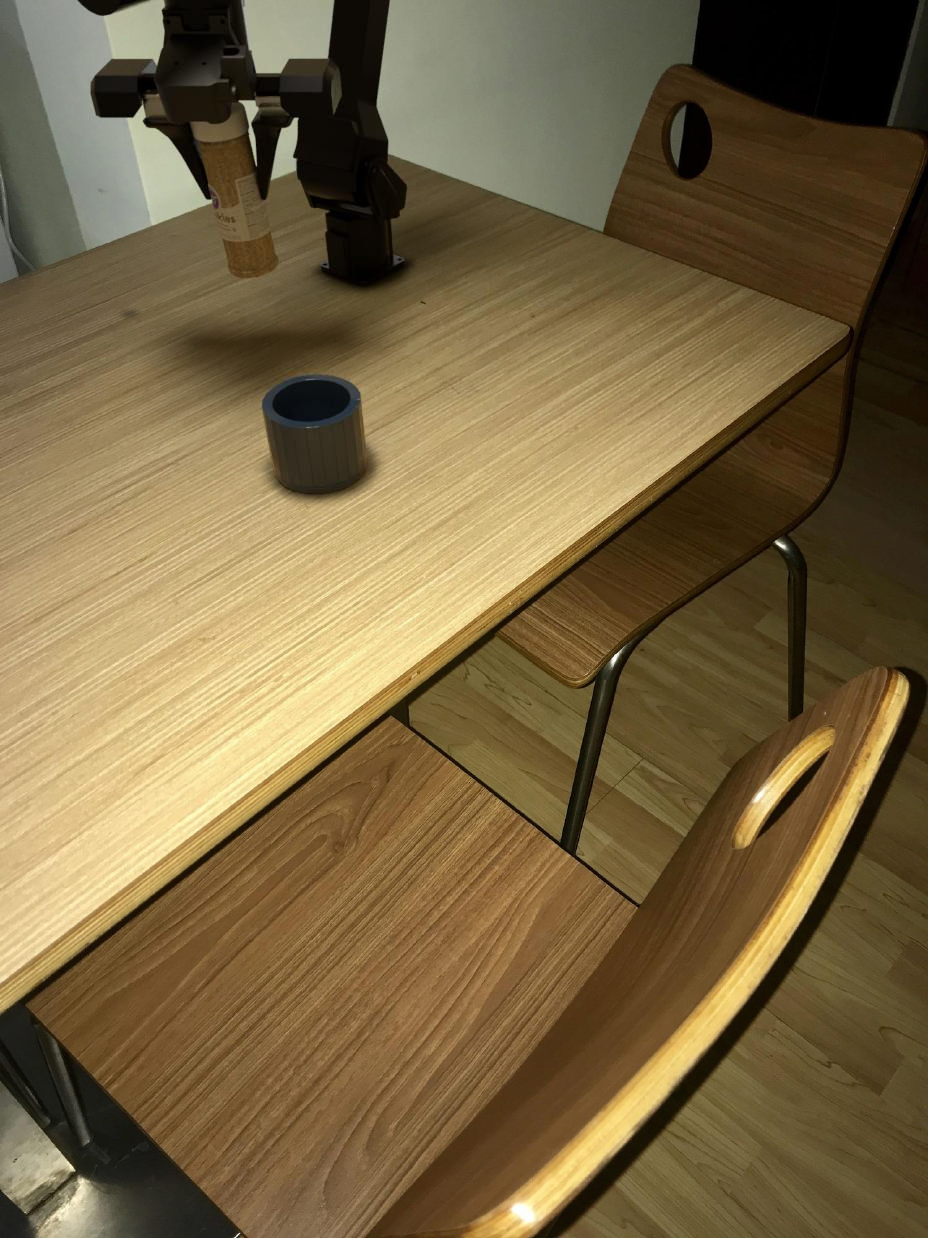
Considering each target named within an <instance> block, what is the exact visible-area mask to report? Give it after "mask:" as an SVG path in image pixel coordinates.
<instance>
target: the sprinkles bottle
mask: <svg viewBox="0 0 928 1238" xmlns="http://www.w3.org/2000/svg"><path fill="white" fill-rule="evenodd" d="M190 125H191V129H192V133H193V136H194V138H195V139H196V142H197V143H198V145H199V149H200V153H201V157H202V160H203V165H204V168H205V172H206V176H207V180H208V187H209V191H210V195H211V202H212V206H213V210H214V214H215V219H216V222H217V227H218V231H219V235H220V237H221V239H222V243H223V248H224V252H225V255H226V259H227V269H228V271H229V273H230V274H231V275H232V276H234V277H236V278H239V279H254V278H259V277H262V276H265V275H267V274H269V273H271V272H273V271H274V270H276V268H277V267H278V266H279V263H280V261H279V257H278V256H277V254H276V250H275V245H274V239H273V236H272V232H271V222H270V218H269V214H268V209H267V205H266V200H261V196H260V191H259V186H258V176H257V162H256V159H255V155H254V150H253V146H252V142H251V138H250V132H249V130H250V122H249V117H248V114H247V110H246V107H245V105H244V104H243V103H242V102H241V101H239V102H238V103H232V106H231V116H230V118H229V119H228V120H227V121H225V122H224V123H221V124H209V123H208V122H190Z"/></svg>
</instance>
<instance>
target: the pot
mask: <svg viewBox="0 0 928 1238" xmlns="http://www.w3.org/2000/svg"><path fill="white" fill-rule="evenodd" d="M261 412H262V416H263V417H262V418H263V422H264V428H265V433H266V439H267V444H268V450H269V454H270V461H271V465H272V470H273V474H274V476H275V478H276V480H277V481H278V482H279V483H280V484H281V485H282V486H284V487H285V488H287V489H289V490H291V491H294V492H297V493H302V494H310V495H311V494H315V495H317V494H319V495H320V494H328V493H332V492H337V491H340V490H343V489H346V488H347V487H349V486H351V485H353V484H354V483H356V482H358V480H360V479H361V477H362V476H363V475H364V474H365V472H366V470H367V468H368V455H367V443H366V433H365V424H364V413H363V404H362V395H361V391H360V390H359V388H358V387H357V385H355V384H353V383H352V382H351V381H350V380H348V379H345V378H342V377H340V376H336V375H332V374H319V373H317V374H316V373H315V374H305V375H304V374H303V375H299V376H294V377H290V378H288V379H285V380H282V381H281V382H279V383H277V384H276V385H274V386H273V387H271V388H270V389H269V390H268V391H267V392H266V393H264V396H263V398H262V400H261Z"/></svg>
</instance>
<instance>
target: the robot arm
mask: <svg viewBox="0 0 928 1238" xmlns="http://www.w3.org/2000/svg"><path fill="white" fill-rule="evenodd" d="M77 1H78V3H79V4H80V5H81V6H82V7H83V8H85V9H86V10H87V11H88V12H90V13H92V14H94V15H97V16H101V17H105V16H106V17H107V16H111V15H113V14H117V13H120V12H123V11H126V10H129V9H132V8H135V7H139V6H142V5H144V4H147V3H151V2H153V1H155V0H77ZM245 1H246V0H163V2H164V3H163V4H164V7H163V8H161V14H162V15H161V16H162V25H163V29H164V33H163V42H162V43H163V44H162V48H161V49H160V53H159V57H158V60H157V63H156V61H155V60H154V58H111V59H110V60H109V61H108V62H107V63H105V65H103V66H102V68H101V69H100V70H98V72H97V73H96V74H95V75H94V76H93V78H92V80H90V85H89V86H90V89H89V91H90V93H89V94H90V97H91V101H92V105H93V109H94V113H95V116H97V117H98V118H100V119H133V118H134V117H136V115H137V113H139V111H140V109H141V108H143V111H144V115H145V117H144V118H143V119H142V123H143V125H145V127H146V128H147V129H156V130H158V131H159V132H160V133H161V134H163V135H164V136H165V137H167V138H168V140H169V141H170V142H171V144H173V146H174V147H175V149H176V150H177V152H178V153H179V154H180V156H181V158H182V159H183V161H184V163H185V164H186V166H187V168H188V170H189V172H190V173H191V176H192V177H193V179H194V181H195V182H196V184H197V186H198V188H199V190H200V192H201V193H202V195H203V196H204V199H205V201H207V200H208V201H212V199H211V195H210V191H209V187H208V180H207V176H206V172H205V168H204V165H203V160H202V157H201V153H200V149H199V145H198V143H197V142H196V139H195V138H194V136H193V133H192V129H191V125H190V122H208V123H209V124H221V123H224V122H225V121H227V120H228V119H229V118H230V116H231V106H232V103H238V102H241V101H243V102H244V101H245V102H246V101H249V102H251V101H254V103H255V107H256V108H258V110H257V112H256V113H255V115H254V117H253V119H252V120H251V122H250V125H251V129H252V132H253V135H254V141H255V142H254V143H255V157H256V159H255V160H256V166H257V176H258V186H259V191H260V196H261V200H265V201H266V200H267V199H268V196H269V193H270V192H269V191H270V186H271V182H272V176H273V169H274V164H275V159H276V153H277V147H278V144H279V140H280V136H281V132H282V130H283V129H287V128H289V127H290V126H291V125H292V124H293V121H294V119H297V128H296V129H297V134H296V136H297V137H296V138H297V139H296V144H295V148H294V151H293V154H292V158H293V159H295V173H296V178H297V180H298V181H299V182H300V185H301V187H302V189H303V192H304V194H305V198H306V200H307V202H308V204H309V207H310V208H311V209H315V210H316V209H320V210H322V211H323V210H324V211H327V212H325V213H324V216H325V226H326V231H325V232H324V235H325V236H324V237H325V246H326V255H327V260H325V261H323V262H321V263H320V265H319V267H320V270H321V271H323V272H326V273H329V274H331V275H334V276H337V277H340V278H343V279H345V280H348V281H350V282H353V283H356V284H358V285H361V286H367V285H369V284H371V283H373V282H375V281H377V280H379V279H380V278H382V277H384V276H386V275H388V274H390V273H391V272H394V271H395V270H397V269H399V268H400V267H403V266H404V265H405V264H406V259H405V258H404V257H402V256H398V255H395V254H394V243H393V229H392V220H395V219H398V218H399V217H400V216H401V211H402V210H404V209H405V207H406V201H407V193H408V185H407V184H406V182H405V181H404V180H403V179H402V178H401V176H400V175H398V173H397V172H396V171H395V170H394V169H393V168H392V167H391V166H390V164H389V163H388V162H389V161H388V160H389V145H390V144H389V143H390V142H389V137H388V134H387V132H386V130H385V126H384V124H383V120H382V118H381V114H380V112H379V109H378V96H379V90H380V89H379V88H380V81H381V73H382V66H383V65H382V64H383V56H384V49H385V44H386V43H385V41H386V36H387V35H386V33H387V27H388V26H387V25H388V17H389V11H390V3H391V0H333V4H332V12H331V13H332V14H331V23H330V30H329V38H328V39H329V41H328V48H327V49H328V50H327V58H288V59H287V61H286V63H285V65H284V66H283V68H282V70H281V72H257V69H256V65H255V61H254V58H253V51H252V49H250V44H249V35H248V30H247V23H246V16H245V10H244V9H245V6H246V3H245ZM142 106H143V107H142Z"/></svg>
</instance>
